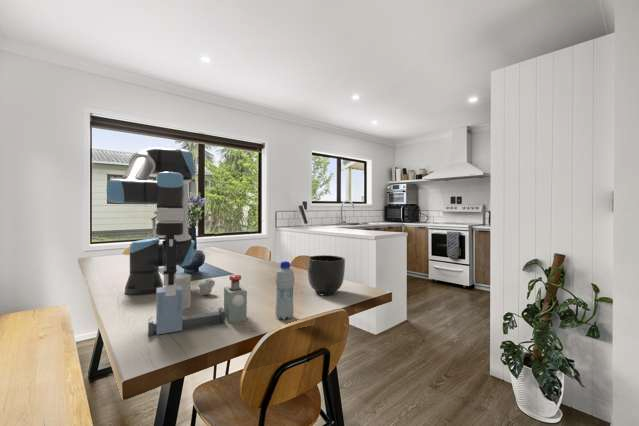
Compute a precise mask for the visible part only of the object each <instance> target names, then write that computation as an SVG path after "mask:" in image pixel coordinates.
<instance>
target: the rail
mask: <svg viewBox="0 0 639 426" xmlns="http://www.w3.org/2000/svg"><path fill="white" fill-rule="evenodd" d="M147 321H148V322H147V323H148V325H147V326H148V327H147V329H148V333H147V335H148V337H151V336H154V335H157V321H156V320H154V317H153V316H150V317H148V320H147ZM218 324H221V325H224V324H225V325H226V317H225V310H224V307H223V306H221V307H218V311H214V312H207V313H201V314H200V313H199V314H194V315H186V316H182V330H187V329H194V328H200V327H206V326H211V325H218Z"/></svg>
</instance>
